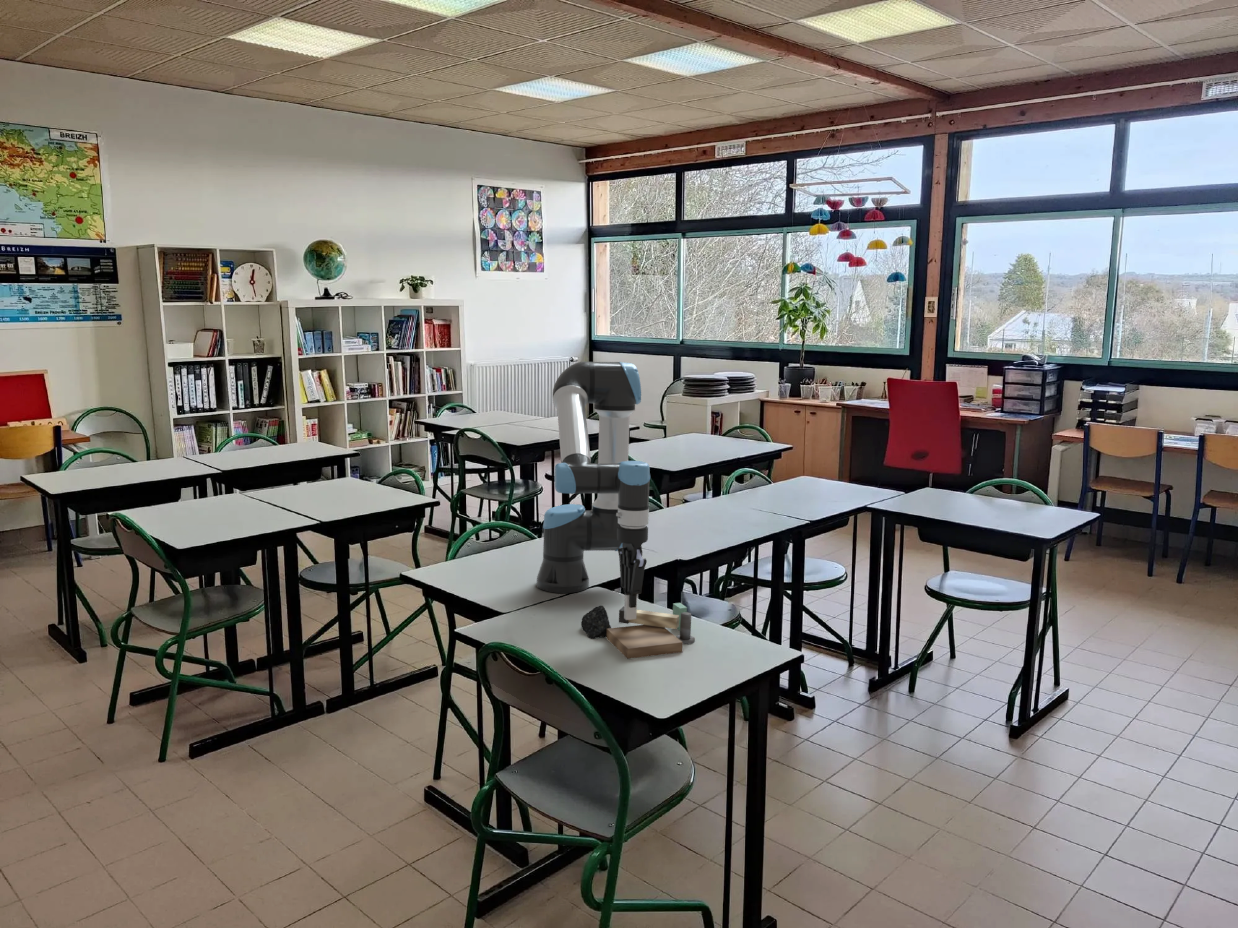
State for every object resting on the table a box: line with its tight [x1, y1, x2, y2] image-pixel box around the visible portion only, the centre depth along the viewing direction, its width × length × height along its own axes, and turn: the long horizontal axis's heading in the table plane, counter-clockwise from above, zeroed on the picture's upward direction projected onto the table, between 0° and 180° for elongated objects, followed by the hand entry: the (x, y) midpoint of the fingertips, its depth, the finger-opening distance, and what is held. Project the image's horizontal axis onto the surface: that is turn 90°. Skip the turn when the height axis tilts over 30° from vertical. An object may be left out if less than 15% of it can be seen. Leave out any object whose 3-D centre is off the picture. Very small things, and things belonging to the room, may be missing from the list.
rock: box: [580, 604, 612, 640], centre depth 234 cm, size 7×10×6 cm
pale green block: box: [672, 602, 688, 631], centre depth 238 cm, size 4×2×6 cm, turn 21°
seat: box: [605, 611, 696, 660], centre depth 226 cm, size 14×20×7 cm
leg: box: [618, 606, 679, 630], centre depth 232 cm, size 15×3×3 cm, turn 71°
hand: (630, 618), depth 230 cm, fingers closed
